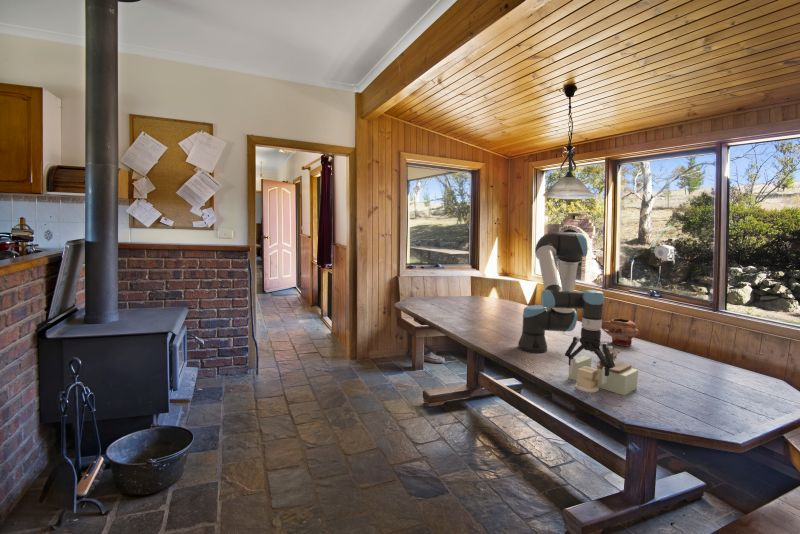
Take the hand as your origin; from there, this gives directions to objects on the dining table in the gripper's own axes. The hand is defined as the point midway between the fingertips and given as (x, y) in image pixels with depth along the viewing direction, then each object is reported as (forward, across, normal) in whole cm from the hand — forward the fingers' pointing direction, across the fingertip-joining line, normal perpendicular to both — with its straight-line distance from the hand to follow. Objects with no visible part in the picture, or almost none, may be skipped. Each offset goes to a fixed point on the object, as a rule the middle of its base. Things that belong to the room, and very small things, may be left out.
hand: (587, 378), depth 186 cm
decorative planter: (+5, -22, +80) cm, 83 cm away
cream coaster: (+4, 0, 0) cm, 4 cm away
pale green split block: (+4, +1, +11) cm, 12 cm away
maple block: (+3, 0, 0) cm, 3 cm away
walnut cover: (-4, +6, +11) cm, 13 cm away
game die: (+5, -11, +44) cm, 46 cm away
